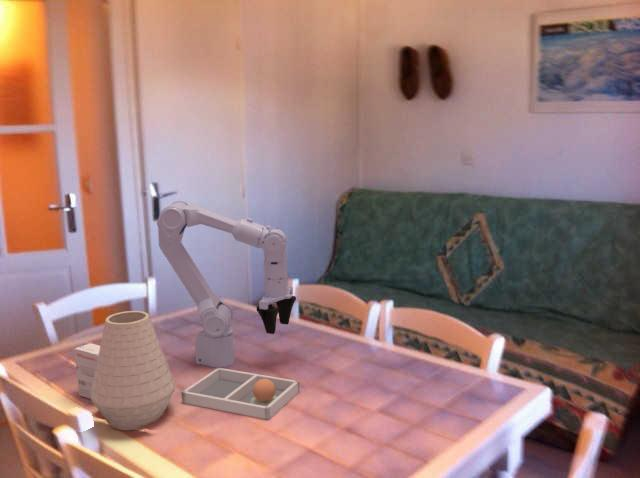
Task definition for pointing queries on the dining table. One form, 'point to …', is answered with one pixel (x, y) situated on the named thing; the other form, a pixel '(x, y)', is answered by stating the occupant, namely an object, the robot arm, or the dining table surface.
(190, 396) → the tray
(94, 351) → the ink box
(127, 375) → the vase
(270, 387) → the ball
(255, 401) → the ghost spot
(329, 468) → the dining table surface
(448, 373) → the dining table surface
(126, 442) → the dining table surface
